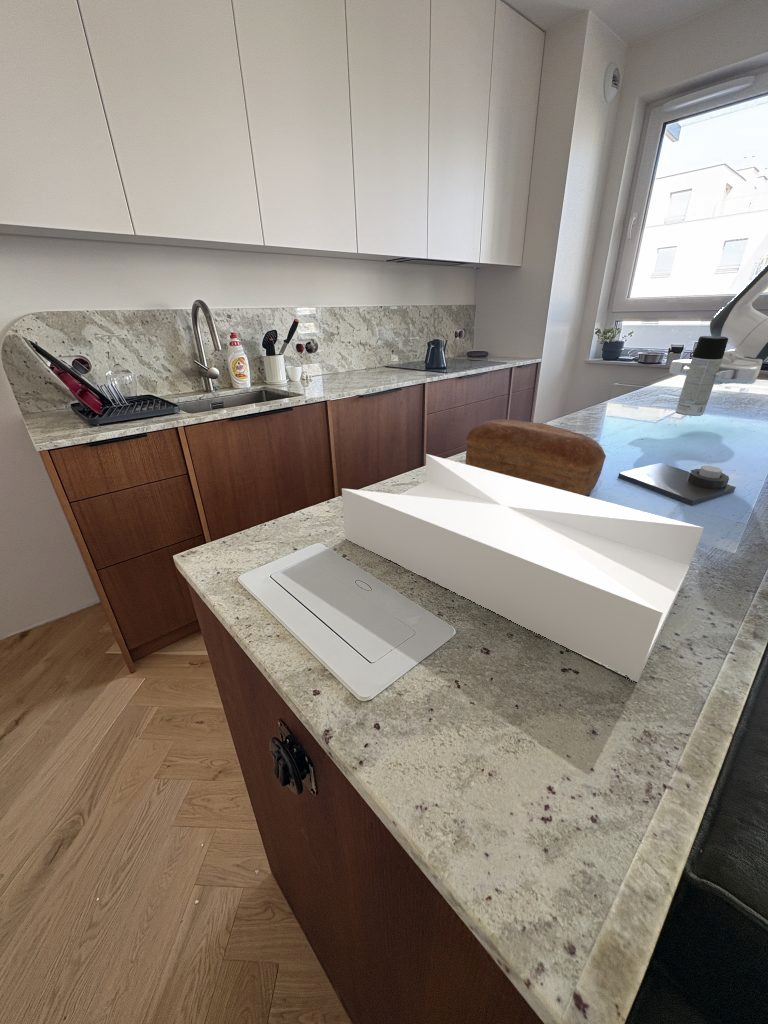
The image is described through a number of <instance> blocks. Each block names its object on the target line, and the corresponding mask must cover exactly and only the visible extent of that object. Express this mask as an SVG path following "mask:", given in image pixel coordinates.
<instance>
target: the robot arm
mask: <svg viewBox="0 0 768 1024" xmlns="http://www.w3.org/2000/svg"><path fill="white" fill-rule="evenodd" d="M767 289H768V263H767V264H766V265H765V266H764V267H763V268H762V269H761V270H760V271H759V272H758V273H757V274H756V275H755V276H754V277H753V278H752V279H751V280H750V281H749V282H748V283H747V284H746V285H745V286H744V287H743V288H742V289H741V290H740V291H739V292H738V293H737V294H736V296H734V297H733V298H732V300H730V301H729V302H728V303H727V304H726V305H725V306H724V307H722V309H721V308H720V310H719V311H718V312H717V313H716V314H715V315H714V316H713V318H712V319H711V320H710V322H709V332H710V336H720V337H727V338H728V342H727V345H730V346H731V347H733V349H729V350H725V353H724V356H723V359H722V362H721V365H720V368H719V371H717V372H716V373H715V376H714V378H716V379H715V382H714V385H716V386H717V385H729V384H739V385H741V384H743V385H752V384H755V382H756V381H757V379H758V376H759V374H760V371H761V368H762V365H763V364H765V363H766V362H768V315H767V314H765V313H763V312H760V311H759V310H757V309H756V308H754V307H753V303H754V302H755V300H757V298H759V297H760V296H761V295H762V294H763V293H764V292H765V291H766V290H767ZM691 359H692V358H691ZM691 359H688V358H687V359H685V358H684V359H676V360H672V361H671V363H670V365H669V370H668V372H669V374H671V375H678V376H684V377H686V376H687V372H688V369H689V366H690V363H691Z"/></svg>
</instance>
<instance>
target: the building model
mask: <svg viewBox="0 0 768 1024" xmlns="http://www.w3.org/2000/svg"><path fill="white" fill-rule="evenodd" d="M424 478H425V479H424V482H422V483H419V484H417V485H416V486H414V487H411V488H410V489H408V490H405V491H403V492H401V493H390V492H389V493H388V492H381V491H371V490H361V489H352V488H341V498H342V512H343V527H344V540H345V539H347V540H349V541H351V542H353V543H355V544H358V545H359V546H362V547H364V548H366V549H368V550H370V551H372V552H374V553H376V554H378V555H380V556H382V557H384V558H387V559H388V560H391V561H393V562H395V563H397V564H399V565H401V566H403V567H405V568H407V569H409V570H411V571H414V572H416V573H418V574H420V575H422V576H424V577H426V578H428V579H430V580H432V581H434V582H436V583H438V584H440V585H442V586H444V587H446V588H447V589H450V590H451V591H453V592H456V593H457V594H459V595H462V596H464V597H466V598H467V599H470V600H471V601H474V602H475V603H476V604H475V603H474V604H475V605H477V604H478V605H477V606H479V605H481V606H482V607H481V606H480V607H481V608H483V607H484V608H483V609H485V608H487V609H489V610H491V611H493V612H495V613H496V614H495V613H494V614H495V615H497V614H499V615H501V616H503V617H505V618H507V619H508V620H507V619H506V620H507V621H509V620H511V621H512V622H511V621H510V622H511V623H513V622H514V624H515V623H516V625H517V624H518V625H517V626H519V625H520V627H521V626H522V627H521V628H523V627H525V628H526V630H527V629H528V631H529V630H531V631H533V632H532V633H534V632H535V633H534V634H536V633H537V634H536V635H538V634H540V635H541V636H540V635H539V636H540V637H542V636H544V637H546V638H548V639H550V640H552V641H554V642H556V643H558V644H560V645H563V646H565V647H567V648H569V649H572V650H574V651H577V652H578V653H581V654H583V655H586V656H588V657H590V658H592V659H594V660H596V661H598V662H601V663H602V664H605V665H608V666H609V667H611V668H614V669H616V670H618V671H620V672H622V673H623V674H625V675H627V676H628V677H630V678H632V679H634V680H635V681H637V683H639V680H640V678H641V676H642V674H643V672H644V670H645V667H646V665H647V663H648V661H649V659H650V657H649V656H651V654H652V652H653V650H654V648H655V646H656V644H657V641H658V639H659V637H660V635H661V633H662V631H663V628H664V626H665V624H666V623H667V620H668V618H669V615H670V614H671V611H672V609H673V607H674V604H675V603H676V600H677V598H678V596H679V594H680V592H681V590H682V587H683V584H684V582H685V579H686V577H687V574H688V572H689V568H690V565H691V563H692V561H693V558H694V556H695V553H696V550H697V548H698V545H699V543H700V540H701V537H702V535H703V532H704V529H705V527H703V526H699V525H696V524H692V523H688V522H684V521H680V520H677V519H673V518H669V517H665V516H662V515H658V514H654V513H651V512H647V511H643V510H640V509H635V508H632V507H627V506H624V505H621V504H616V503H613V502H609V501H606V500H603V499H598V498H594V497H591V496H586V495H585V496H583V495H579V494H576V493H572V492H568V491H564V490H561V489H557V488H553V487H549V486H545V485H542V484H538V483H534V482H530V481H527V480H523V479H519V478H515V477H512V476H508V475H504V474H500V473H497V472H493V471H489V470H485V469H481V468H478V467H474V466H470V465H466V463H462V462H459V461H454V460H451V459H448V458H443V457H439V456H436V455H432V454H428V453H426V454H425V477H424ZM347 540H346V541H347ZM349 541H348V542H349ZM351 542H350V543H351ZM353 543H352V544H353ZM355 544H354V545H355ZM359 546H358V547H359ZM366 549H365V550H366ZM368 550H367V551H368ZM370 551H369V552H370ZM372 552H371V553H372ZM374 553H373V554H374ZM376 554H375V555H376ZM378 555H377V556H378ZM380 556H379V557H380ZM382 557H381V558H382ZM384 558H383V559H384ZM388 560H387V561H388ZM451 591H450V592H451ZM679 591H680V592H679ZM453 592H452V593H453ZM457 594H456V595H457ZM459 595H458V596H459ZM467 599H466V600H467ZM471 601H470V602H471ZM487 609H486V610H487ZM489 610H488V611H489ZM491 611H490V612H491ZM493 612H492V613H493ZM499 615H498V616H499ZM501 616H500V617H501ZM503 617H502V618H503ZM505 618H504V619H505ZM525 628H524V629H525ZM661 630H662V631H661ZM531 631H530V632H531ZM544 637H543V638H544ZM546 638H545V639H546ZM548 639H547V640H548ZM550 640H549V641H550ZM552 641H551V642H552ZM554 642H553V643H554ZM556 643H555V644H556ZM655 643H656V644H655ZM558 644H557V645H558ZM560 645H559V646H560ZM648 658H649V659H648ZM643 669H644V670H643ZM642 671H643V672H642Z"/></svg>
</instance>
